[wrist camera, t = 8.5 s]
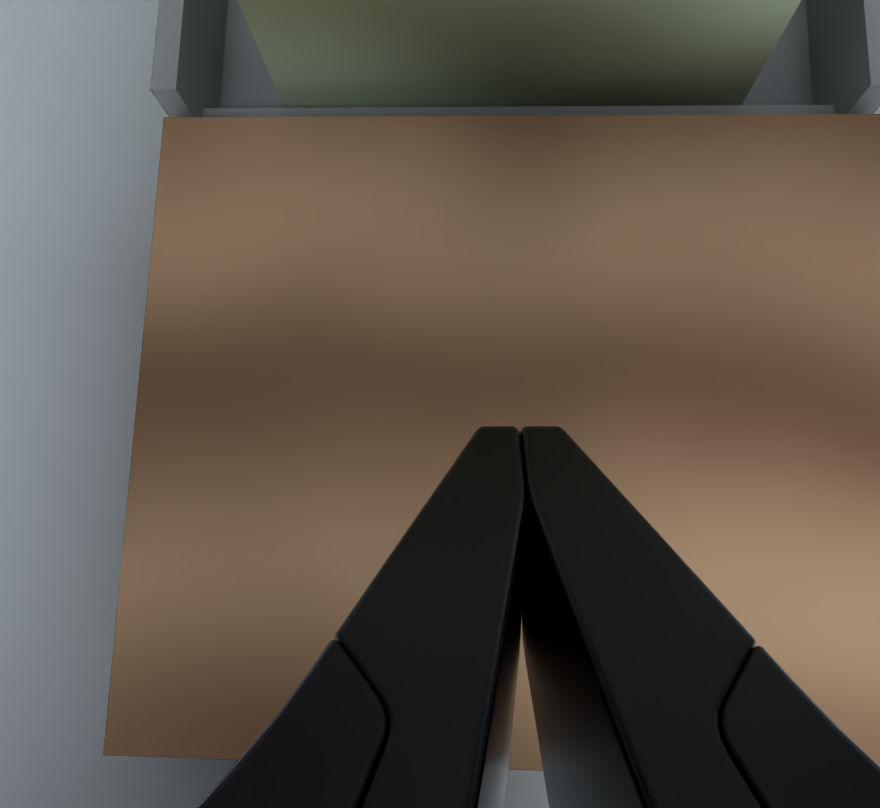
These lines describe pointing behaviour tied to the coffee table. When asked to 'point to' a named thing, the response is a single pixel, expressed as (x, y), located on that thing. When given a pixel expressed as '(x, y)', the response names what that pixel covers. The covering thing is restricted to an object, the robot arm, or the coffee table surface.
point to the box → (774, 92)
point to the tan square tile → (495, 381)
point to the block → (515, 51)
